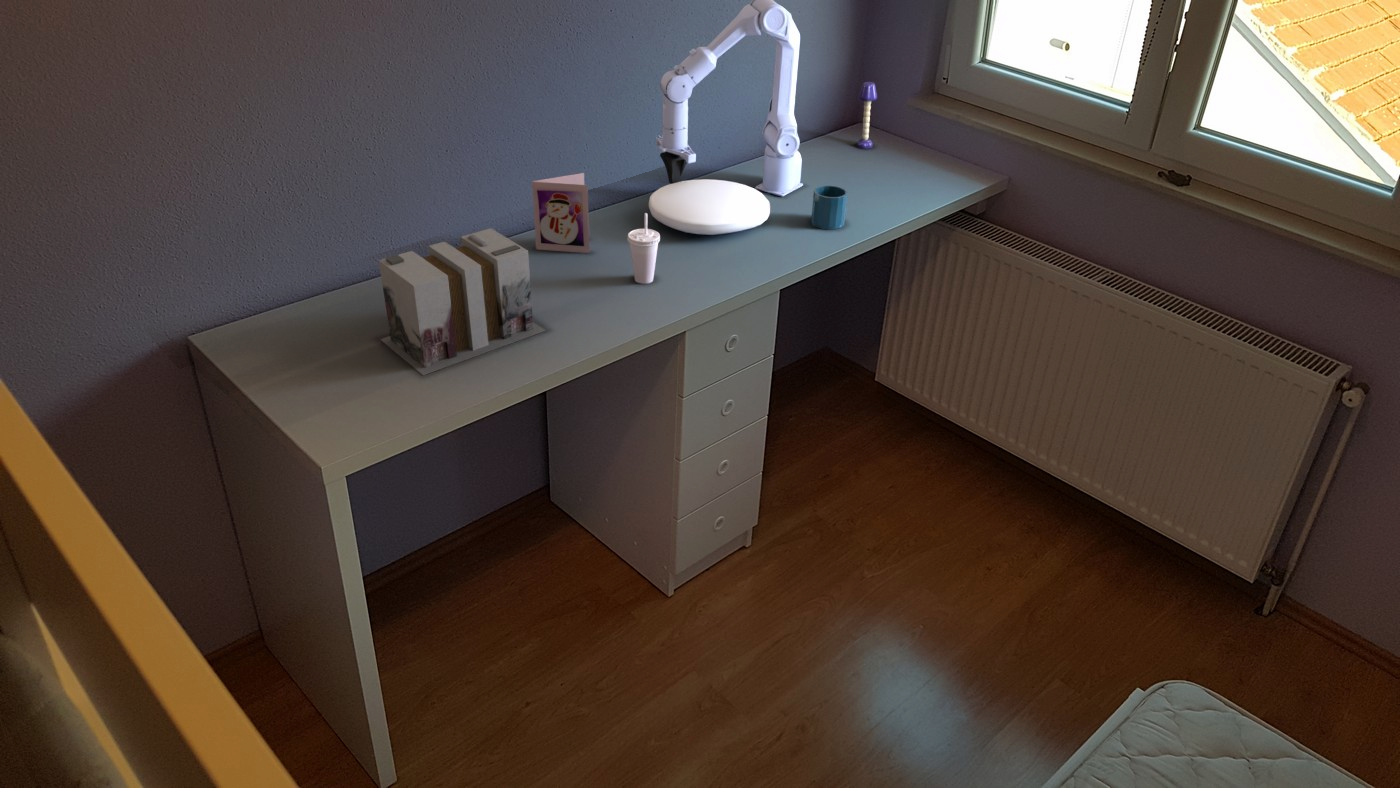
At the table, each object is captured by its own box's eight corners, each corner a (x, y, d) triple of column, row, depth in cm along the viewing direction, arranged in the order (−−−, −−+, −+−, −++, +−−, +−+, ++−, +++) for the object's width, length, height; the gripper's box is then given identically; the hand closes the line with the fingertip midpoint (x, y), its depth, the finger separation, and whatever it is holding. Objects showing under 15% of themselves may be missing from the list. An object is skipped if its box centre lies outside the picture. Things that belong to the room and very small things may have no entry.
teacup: (822, 214, 244) (825, 182, 240) (850, 222, 241) (853, 190, 237) (805, 223, 239) (807, 192, 235) (833, 232, 236) (836, 200, 232)
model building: (379, 339, 192) (366, 256, 183) (500, 299, 206) (493, 220, 197) (423, 375, 182) (411, 290, 173) (546, 330, 196) (541, 249, 187)
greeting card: (535, 250, 224) (530, 183, 216) (543, 236, 231) (539, 169, 222) (588, 254, 223) (586, 186, 215) (595, 240, 230) (593, 173, 222)
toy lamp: (856, 149, 282) (862, 85, 273) (852, 143, 285) (858, 80, 276) (874, 148, 282) (881, 85, 273) (870, 142, 286) (877, 80, 277)
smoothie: (666, 280, 214) (667, 215, 207) (642, 289, 210) (641, 223, 203) (645, 269, 218) (645, 205, 211) (621, 278, 214) (620, 213, 207)
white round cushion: (701, 166, 255) (794, 195, 241) (698, 193, 258) (791, 222, 244) (624, 188, 234) (722, 221, 221) (622, 217, 237) (719, 250, 224)
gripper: (643, 119, 245) (643, 176, 252) (677, 138, 235) (676, 196, 242) (669, 115, 248) (669, 170, 256) (704, 133, 238) (702, 190, 246)
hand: (674, 183), depth 249 cm, fingers closed
